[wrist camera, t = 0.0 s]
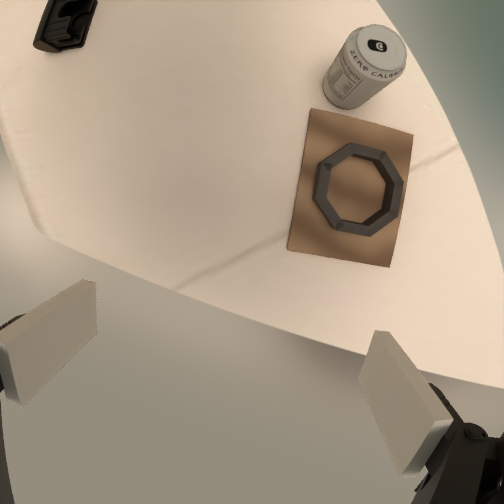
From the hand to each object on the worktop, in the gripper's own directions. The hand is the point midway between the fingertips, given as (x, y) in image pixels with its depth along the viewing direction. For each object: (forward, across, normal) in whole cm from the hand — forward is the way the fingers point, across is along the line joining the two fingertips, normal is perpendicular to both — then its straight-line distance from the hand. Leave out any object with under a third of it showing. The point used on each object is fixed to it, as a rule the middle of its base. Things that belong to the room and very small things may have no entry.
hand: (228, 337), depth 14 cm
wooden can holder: (+28, +12, +8) cm, 31 cm away
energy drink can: (+28, +9, +21) cm, 36 cm away
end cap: (+28, -33, +29) cm, 53 cm away
